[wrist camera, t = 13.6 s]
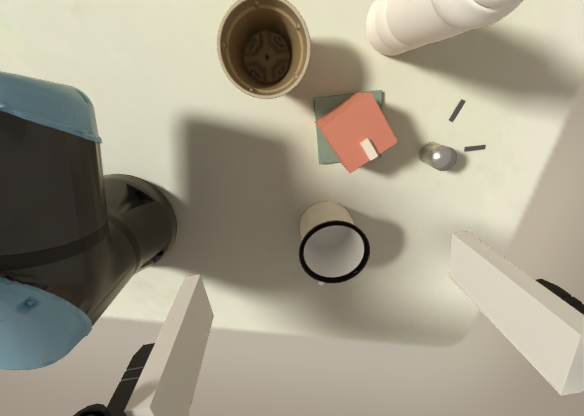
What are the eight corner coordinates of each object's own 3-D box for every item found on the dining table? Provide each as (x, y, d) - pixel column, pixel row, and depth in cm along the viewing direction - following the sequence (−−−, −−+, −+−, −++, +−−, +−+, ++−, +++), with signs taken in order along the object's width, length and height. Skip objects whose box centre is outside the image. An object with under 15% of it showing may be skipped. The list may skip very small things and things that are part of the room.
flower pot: (313, 28, 36) (323, 11, 28) (293, 105, 39) (296, 109, 31) (239, 3, 35) (226, -23, 27) (224, 85, 38) (209, 84, 30)
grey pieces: (419, 165, 43) (432, 172, 39) (422, 104, 40) (437, 105, 36) (483, 157, 43) (502, 163, 39) (492, 95, 39) (514, 96, 36)
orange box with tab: (314, 121, 39) (321, 128, 32) (356, 92, 38) (372, 92, 31) (339, 160, 42) (351, 174, 35) (379, 133, 40) (399, 143, 33)
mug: (302, 192, 44) (306, 216, 36) (361, 202, 45) (379, 228, 36) (288, 259, 48) (289, 294, 40) (342, 266, 49) (354, 302, 41)
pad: (319, 163, 42) (319, 164, 42) (314, 98, 39) (314, 98, 38) (379, 155, 42) (381, 156, 42) (380, 90, 39) (381, 90, 38)
